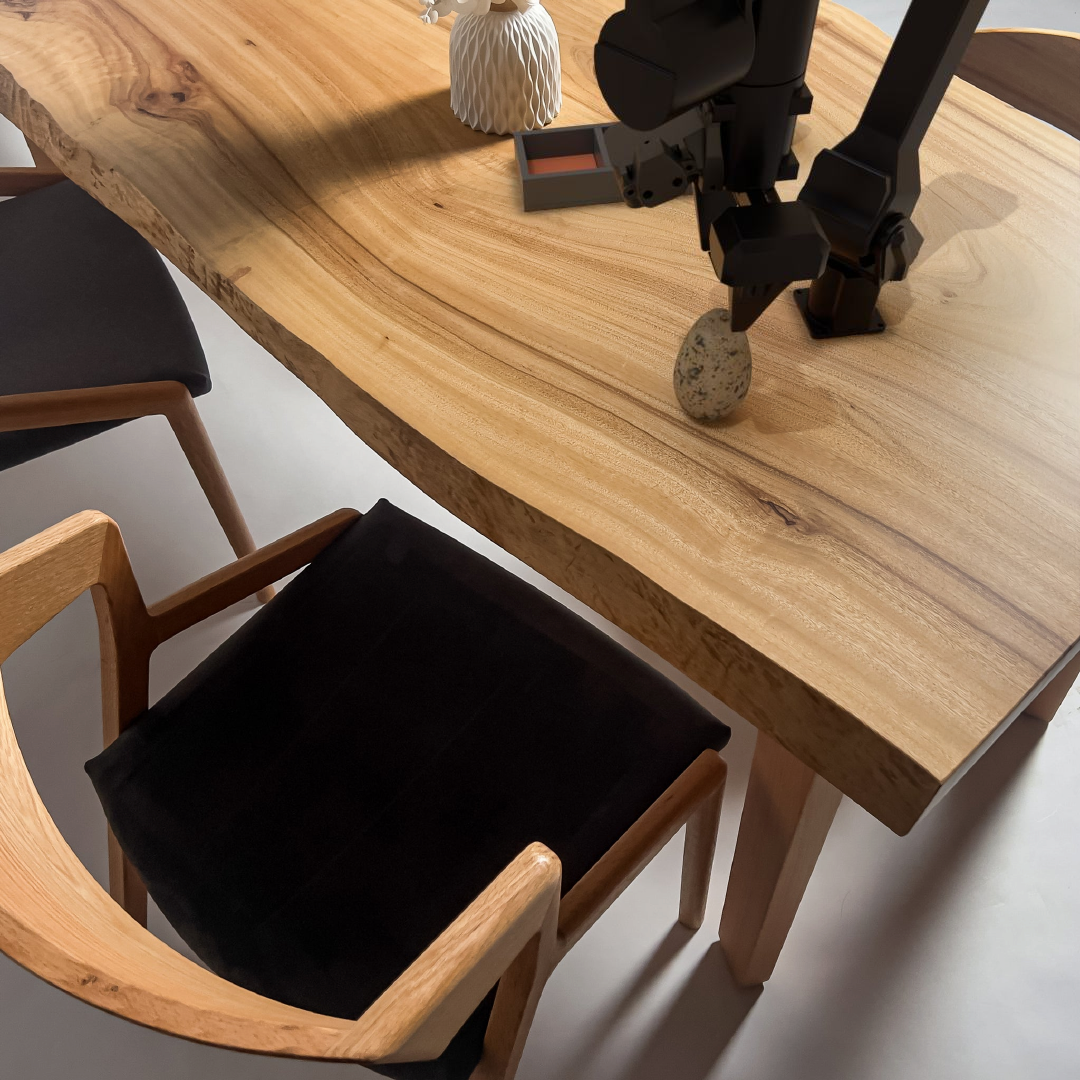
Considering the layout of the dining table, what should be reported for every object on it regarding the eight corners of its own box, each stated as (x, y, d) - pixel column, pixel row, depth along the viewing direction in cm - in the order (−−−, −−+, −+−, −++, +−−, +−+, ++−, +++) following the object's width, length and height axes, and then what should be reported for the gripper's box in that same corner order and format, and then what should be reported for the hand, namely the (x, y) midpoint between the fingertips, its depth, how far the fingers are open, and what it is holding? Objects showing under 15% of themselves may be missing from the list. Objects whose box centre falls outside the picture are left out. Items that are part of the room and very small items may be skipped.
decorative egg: (743, 387, 76) (761, 287, 68) (744, 439, 72) (764, 341, 64) (670, 383, 76) (680, 284, 68) (668, 435, 73) (678, 337, 65)
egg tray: (694, 194, 93) (697, 162, 90) (524, 211, 92) (522, 179, 89) (676, 146, 98) (678, 115, 95) (515, 163, 98) (513, 131, 95)
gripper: (593, 4, 58) (591, 223, 70) (645, 163, 46) (632, 390, 59) (766, -11, 58) (734, 209, 70) (861, 143, 47) (802, 373, 59)
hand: (722, 288), depth 65 cm, fingers open, 9 cm apart
